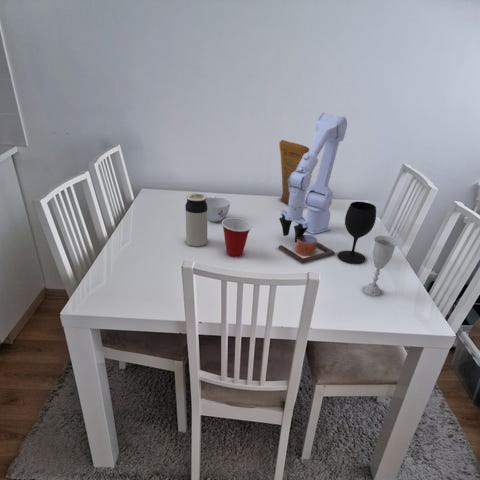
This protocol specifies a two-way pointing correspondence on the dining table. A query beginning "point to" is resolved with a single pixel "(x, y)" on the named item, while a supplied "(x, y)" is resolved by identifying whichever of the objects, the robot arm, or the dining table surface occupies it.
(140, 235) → the dining table surface
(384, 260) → the chalice
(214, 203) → the teacup
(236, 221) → the plastic cup
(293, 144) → the pancake mix bag
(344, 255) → the wine glass
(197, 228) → the travel mug
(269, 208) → the dining table surface
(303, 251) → the tin can
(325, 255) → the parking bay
